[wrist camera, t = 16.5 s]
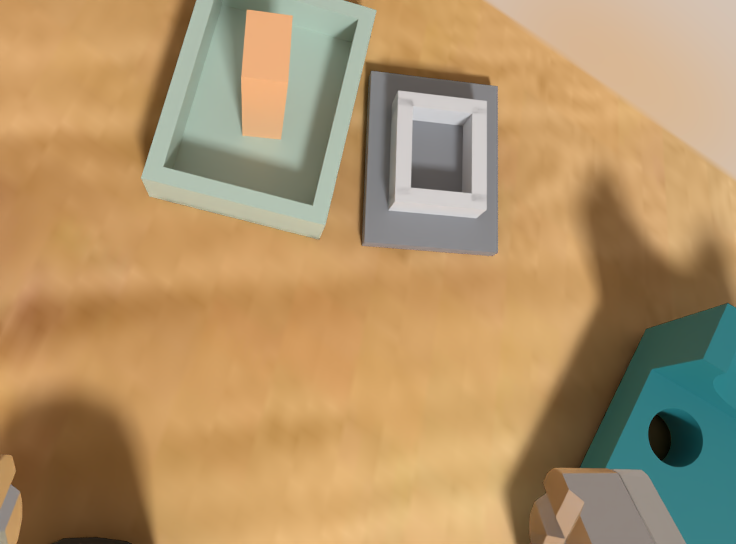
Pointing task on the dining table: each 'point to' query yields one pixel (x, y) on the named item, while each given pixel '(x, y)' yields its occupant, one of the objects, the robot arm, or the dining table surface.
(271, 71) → the orange rectangular block
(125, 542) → the sushi
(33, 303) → the dining table surface
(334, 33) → the tray
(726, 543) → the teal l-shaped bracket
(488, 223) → the grey socket base plate
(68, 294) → the dining table surface
